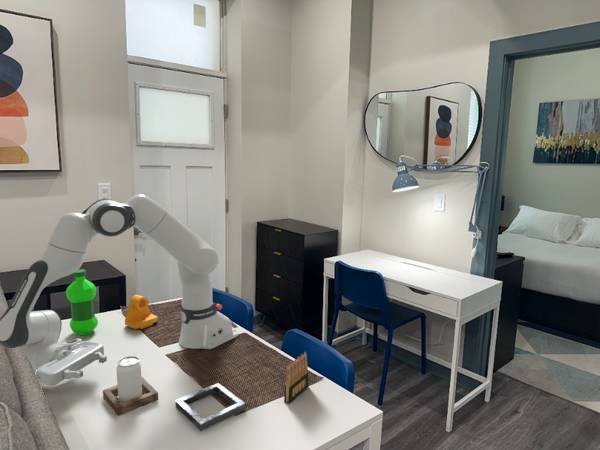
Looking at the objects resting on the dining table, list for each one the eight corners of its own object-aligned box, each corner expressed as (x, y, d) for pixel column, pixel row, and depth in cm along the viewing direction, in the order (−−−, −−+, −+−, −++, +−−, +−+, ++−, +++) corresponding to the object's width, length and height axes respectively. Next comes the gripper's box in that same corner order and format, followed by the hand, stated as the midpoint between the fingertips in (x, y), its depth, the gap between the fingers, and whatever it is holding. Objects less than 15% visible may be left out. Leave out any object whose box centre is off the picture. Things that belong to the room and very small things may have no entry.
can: (136, 390, 129) (134, 353, 127) (146, 399, 124) (144, 361, 122) (115, 398, 124) (112, 360, 122) (124, 408, 120) (121, 369, 118)
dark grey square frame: (218, 388, 130) (218, 382, 130) (245, 409, 120) (245, 403, 120) (175, 406, 121) (175, 400, 121) (200, 431, 111) (200, 424, 111)
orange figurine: (135, 331, 169) (133, 302, 167) (125, 326, 174) (123, 298, 172) (158, 322, 178) (157, 295, 176) (148, 318, 182) (147, 291, 180)
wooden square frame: (141, 383, 132) (141, 376, 132) (158, 400, 124) (157, 392, 124) (103, 398, 125) (102, 390, 124) (117, 416, 116) (117, 408, 116)
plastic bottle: (103, 326, 173) (99, 267, 168) (91, 338, 162) (86, 275, 158) (78, 326, 172) (73, 267, 168) (64, 338, 162) (59, 275, 158)
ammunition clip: (289, 404, 123) (289, 365, 121) (283, 402, 124) (284, 364, 122) (308, 387, 132) (309, 351, 130) (303, 385, 133) (304, 349, 131)
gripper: (24, 365, 120) (64, 374, 116) (81, 336, 139) (117, 342, 135) (26, 386, 121) (65, 395, 117) (82, 354, 140) (118, 361, 136)
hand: (93, 367), depth 126 cm, fingers open, 8 cm apart
